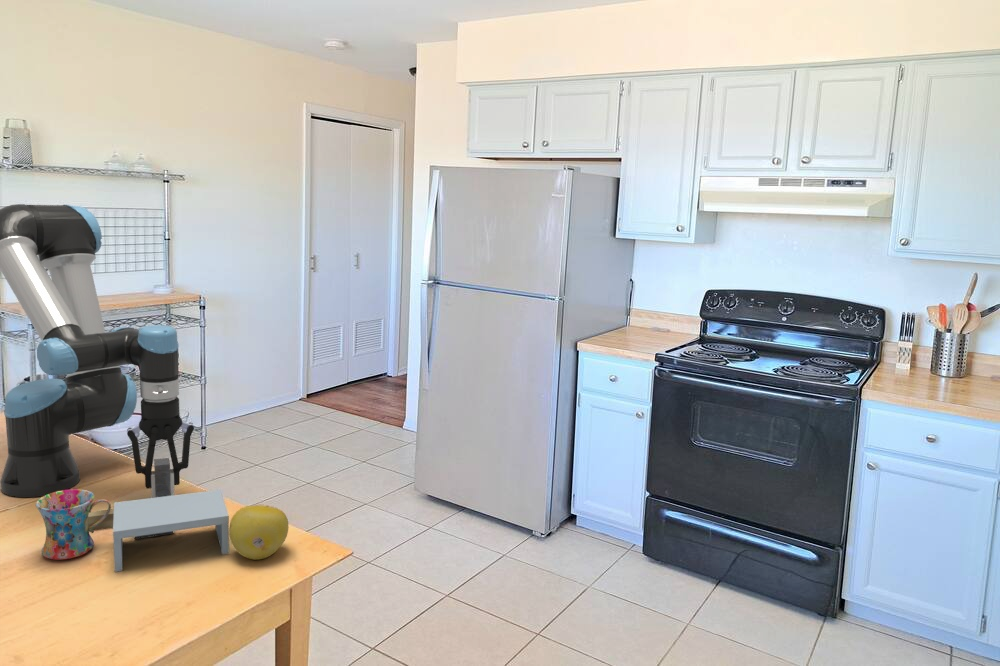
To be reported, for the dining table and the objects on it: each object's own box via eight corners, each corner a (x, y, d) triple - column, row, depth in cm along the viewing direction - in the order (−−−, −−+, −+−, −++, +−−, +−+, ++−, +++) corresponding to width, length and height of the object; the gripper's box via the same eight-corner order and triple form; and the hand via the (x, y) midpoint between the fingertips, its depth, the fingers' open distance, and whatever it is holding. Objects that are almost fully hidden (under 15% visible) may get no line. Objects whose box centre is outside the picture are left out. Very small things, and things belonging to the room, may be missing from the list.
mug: (40, 568, 130) (37, 513, 128) (37, 547, 137) (34, 494, 135) (115, 553, 137) (113, 500, 135) (109, 533, 144) (106, 483, 142)
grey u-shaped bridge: (115, 540, 141) (114, 502, 140) (221, 525, 150) (220, 489, 148) (114, 573, 130) (113, 531, 128) (229, 554, 139) (228, 515, 137)
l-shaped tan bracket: (65, 534, 142) (63, 501, 141) (66, 528, 145) (64, 495, 144) (122, 526, 147) (121, 494, 146) (122, 520, 150) (121, 488, 148)
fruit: (294, 559, 138) (295, 510, 136) (236, 572, 133) (235, 521, 131) (280, 537, 147) (280, 490, 145) (224, 547, 141) (223, 500, 139)
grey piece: (133, 500, 159) (132, 461, 157) (170, 495, 162) (169, 457, 161) (134, 539, 142) (133, 496, 141) (175, 533, 146) (174, 491, 144)
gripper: (117, 405, 149) (122, 512, 153) (201, 399, 156) (203, 501, 160) (117, 395, 155) (122, 498, 160) (198, 390, 163) (200, 488, 167)
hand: (163, 499), depth 160 cm, fingers closed on grey piece, 3 cm apart
